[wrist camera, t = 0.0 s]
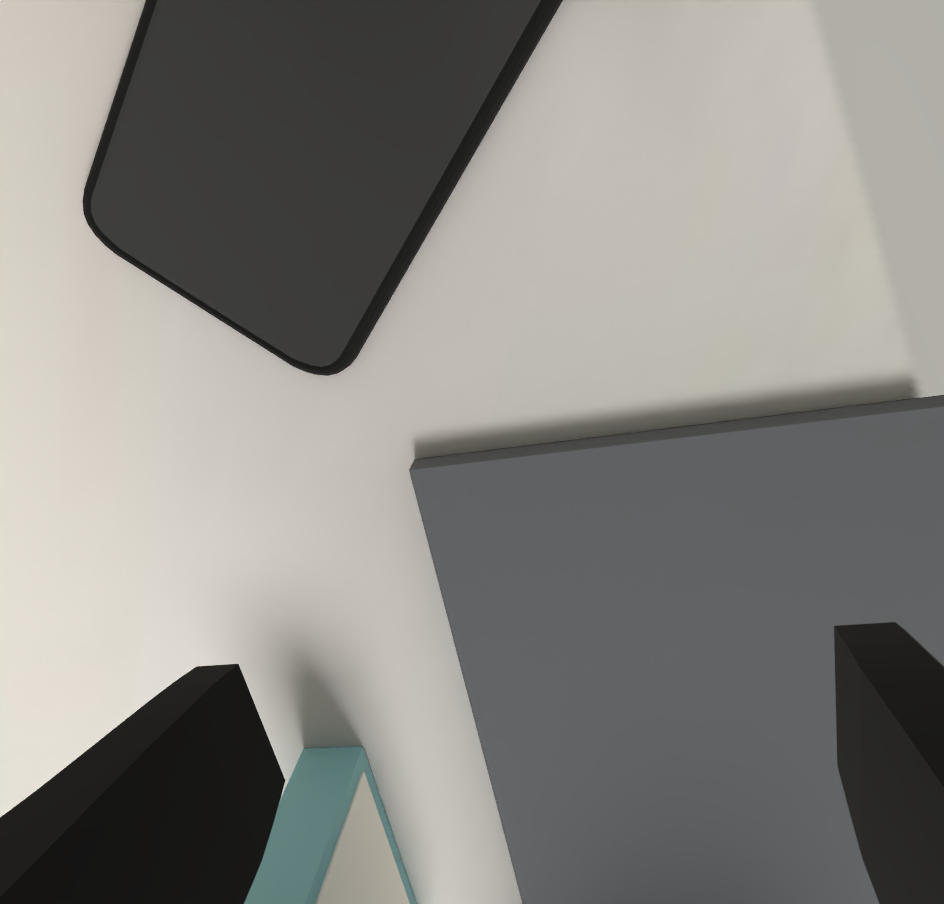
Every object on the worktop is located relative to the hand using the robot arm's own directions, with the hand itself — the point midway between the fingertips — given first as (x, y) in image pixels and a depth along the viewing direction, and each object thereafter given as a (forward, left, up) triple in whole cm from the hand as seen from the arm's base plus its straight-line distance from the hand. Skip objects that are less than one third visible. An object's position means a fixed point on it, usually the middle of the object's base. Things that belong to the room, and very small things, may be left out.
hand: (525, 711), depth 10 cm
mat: (-10, -3, -10) cm, 15 cm away
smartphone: (+9, +3, -11) cm, 14 cm away
